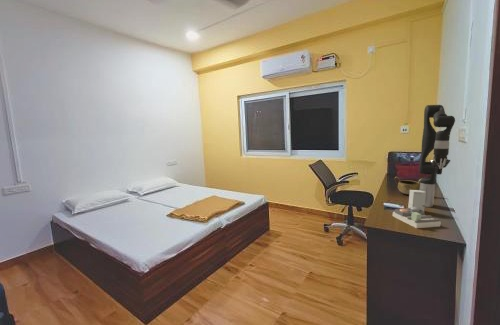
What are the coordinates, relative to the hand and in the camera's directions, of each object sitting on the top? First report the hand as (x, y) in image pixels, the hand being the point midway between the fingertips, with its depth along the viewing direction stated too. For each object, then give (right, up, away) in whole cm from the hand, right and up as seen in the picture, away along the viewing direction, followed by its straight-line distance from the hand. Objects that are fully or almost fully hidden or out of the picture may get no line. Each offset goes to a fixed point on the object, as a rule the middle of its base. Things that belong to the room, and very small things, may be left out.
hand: (438, 174), depth 156 cm
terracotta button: (-21, -26, +2) cm, 34 cm away
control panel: (-17, -30, -2) cm, 34 cm away
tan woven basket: (+18, -21, +57) cm, 63 cm away
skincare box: (-4, -27, +16) cm, 32 cm away
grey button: (-14, -25, +3) cm, 28 cm away
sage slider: (-21, -28, -9) cm, 36 cm away
